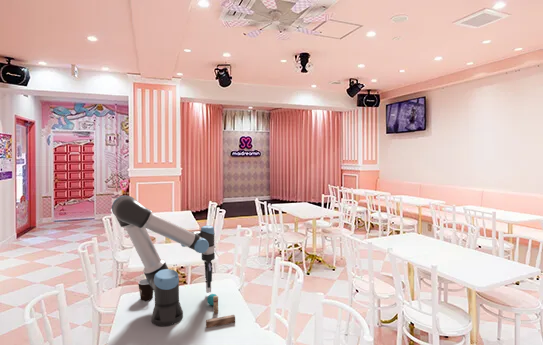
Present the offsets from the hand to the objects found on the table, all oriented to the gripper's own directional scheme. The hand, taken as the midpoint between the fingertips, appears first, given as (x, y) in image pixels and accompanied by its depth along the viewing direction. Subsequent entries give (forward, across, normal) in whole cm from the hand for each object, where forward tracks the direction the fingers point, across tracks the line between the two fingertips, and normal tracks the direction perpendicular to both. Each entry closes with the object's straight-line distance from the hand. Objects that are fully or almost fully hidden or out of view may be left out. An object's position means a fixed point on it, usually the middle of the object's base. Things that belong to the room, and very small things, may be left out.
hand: (208, 292), depth 187 cm
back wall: (+2, -34, 0) cm, 34 cm away
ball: (-1, -13, 0) cm, 13 cm away
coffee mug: (+2, +7, +34) cm, 35 cm away
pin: (+2, -22, 0) cm, 22 cm away
